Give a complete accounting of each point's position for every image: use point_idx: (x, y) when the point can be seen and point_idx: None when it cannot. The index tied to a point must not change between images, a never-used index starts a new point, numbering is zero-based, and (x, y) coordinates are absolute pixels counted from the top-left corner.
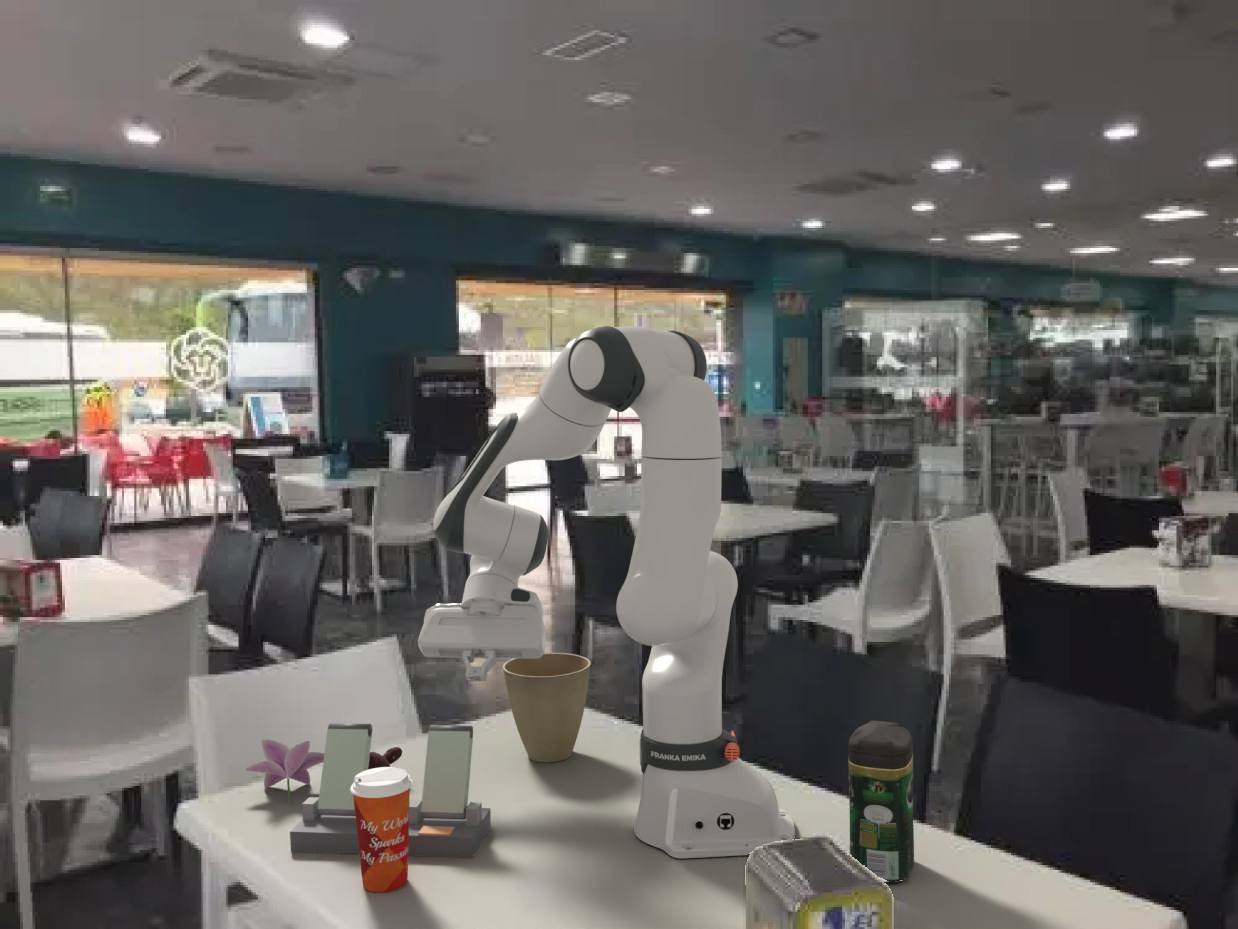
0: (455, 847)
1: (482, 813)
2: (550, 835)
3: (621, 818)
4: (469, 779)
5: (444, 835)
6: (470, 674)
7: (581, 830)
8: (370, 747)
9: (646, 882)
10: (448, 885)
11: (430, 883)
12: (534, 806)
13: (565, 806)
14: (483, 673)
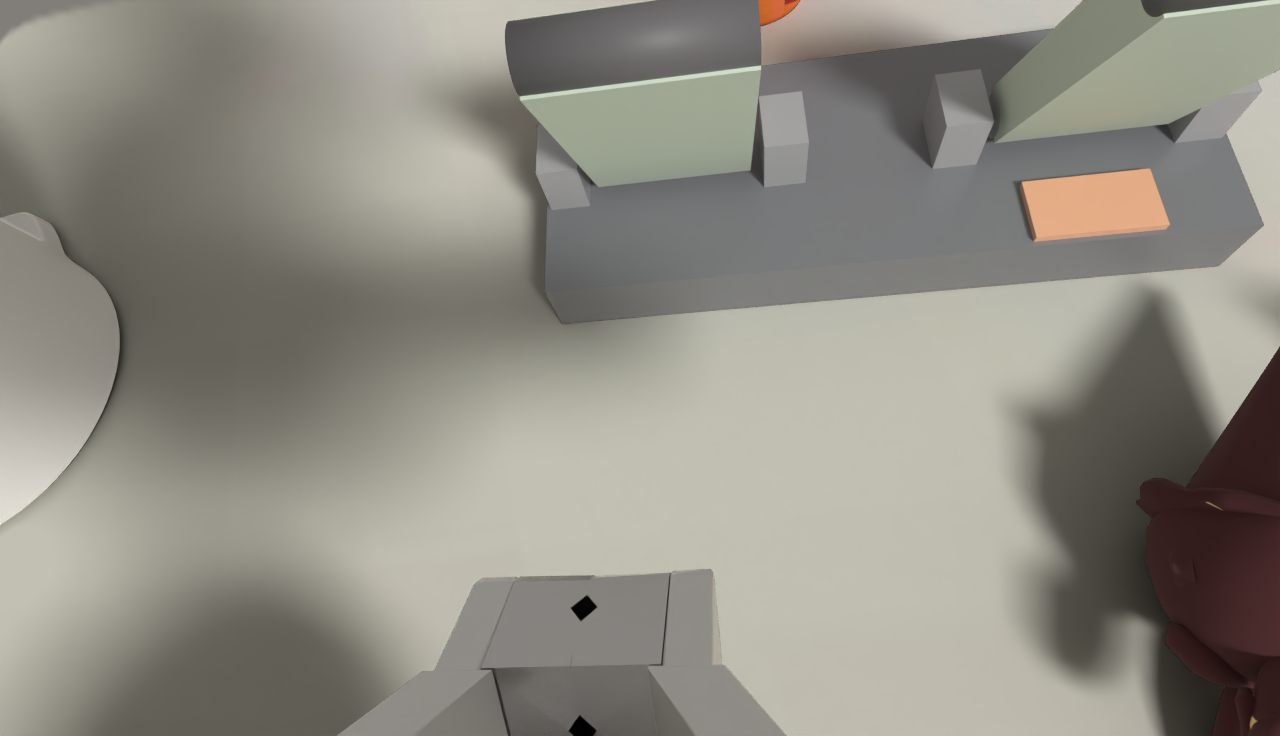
0: None
1: (561, 248)
2: (366, 302)
3: (146, 456)
4: (573, 159)
5: None
6: (644, 578)
7: (275, 349)
8: (1112, 53)
9: (137, 113)
10: None
11: None
12: (441, 521)
13: (328, 535)
14: (471, 590)
